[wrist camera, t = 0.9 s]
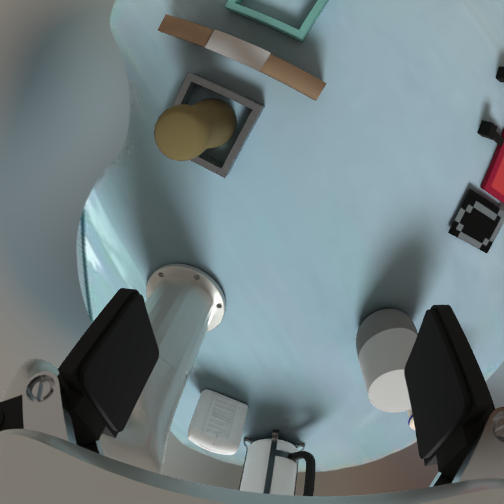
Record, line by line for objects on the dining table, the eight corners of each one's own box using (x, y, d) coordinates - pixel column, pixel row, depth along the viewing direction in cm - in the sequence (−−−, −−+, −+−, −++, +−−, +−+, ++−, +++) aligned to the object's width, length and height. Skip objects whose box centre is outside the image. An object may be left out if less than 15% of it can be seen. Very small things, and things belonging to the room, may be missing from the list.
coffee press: (302, 457, 68) (290, 556, 42) (242, 449, 69) (220, 548, 43) (318, 428, 59) (308, 551, 33) (246, 419, 61) (219, 542, 35)
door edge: (313, 100, 31) (316, 101, 26) (175, 37, 29) (155, 30, 24) (323, 85, 30) (327, 82, 25) (183, 22, 28) (164, 12, 23)
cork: (177, 116, 34) (132, 127, 24) (219, 88, 32) (184, 86, 22) (204, 157, 36) (168, 181, 26) (246, 131, 34) (223, 145, 24)
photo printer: (198, 395, 59) (181, 443, 48) (204, 385, 57) (187, 436, 46) (243, 412, 60) (232, 461, 49) (251, 404, 58) (240, 455, 47)
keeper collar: (228, 173, 36) (224, 178, 35) (163, 140, 35) (156, 143, 34) (264, 106, 32) (262, 106, 30) (194, 73, 31) (188, 72, 29)
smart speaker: (371, 294, 41) (389, 369, 29) (422, 309, 41) (448, 380, 29) (344, 340, 46) (349, 414, 34) (392, 352, 46) (406, 421, 34)
